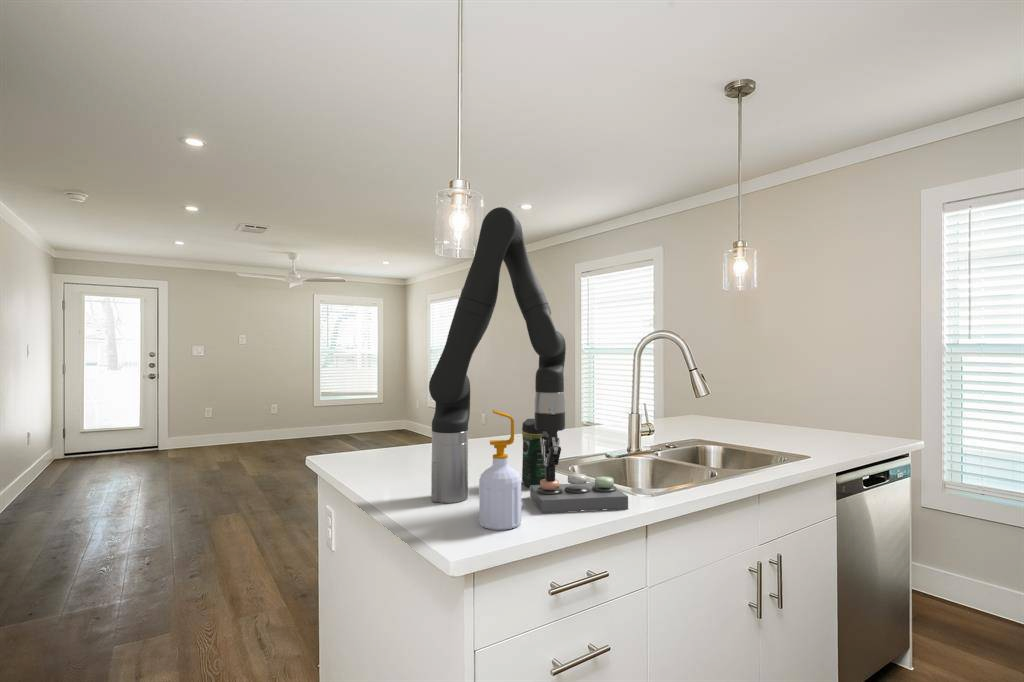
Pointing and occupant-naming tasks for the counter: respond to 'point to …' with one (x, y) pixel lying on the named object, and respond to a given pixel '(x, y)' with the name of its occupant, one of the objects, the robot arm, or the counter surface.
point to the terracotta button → (549, 484)
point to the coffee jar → (532, 454)
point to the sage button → (604, 482)
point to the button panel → (578, 498)
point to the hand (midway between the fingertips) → (550, 480)
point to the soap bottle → (500, 489)
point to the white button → (577, 478)
